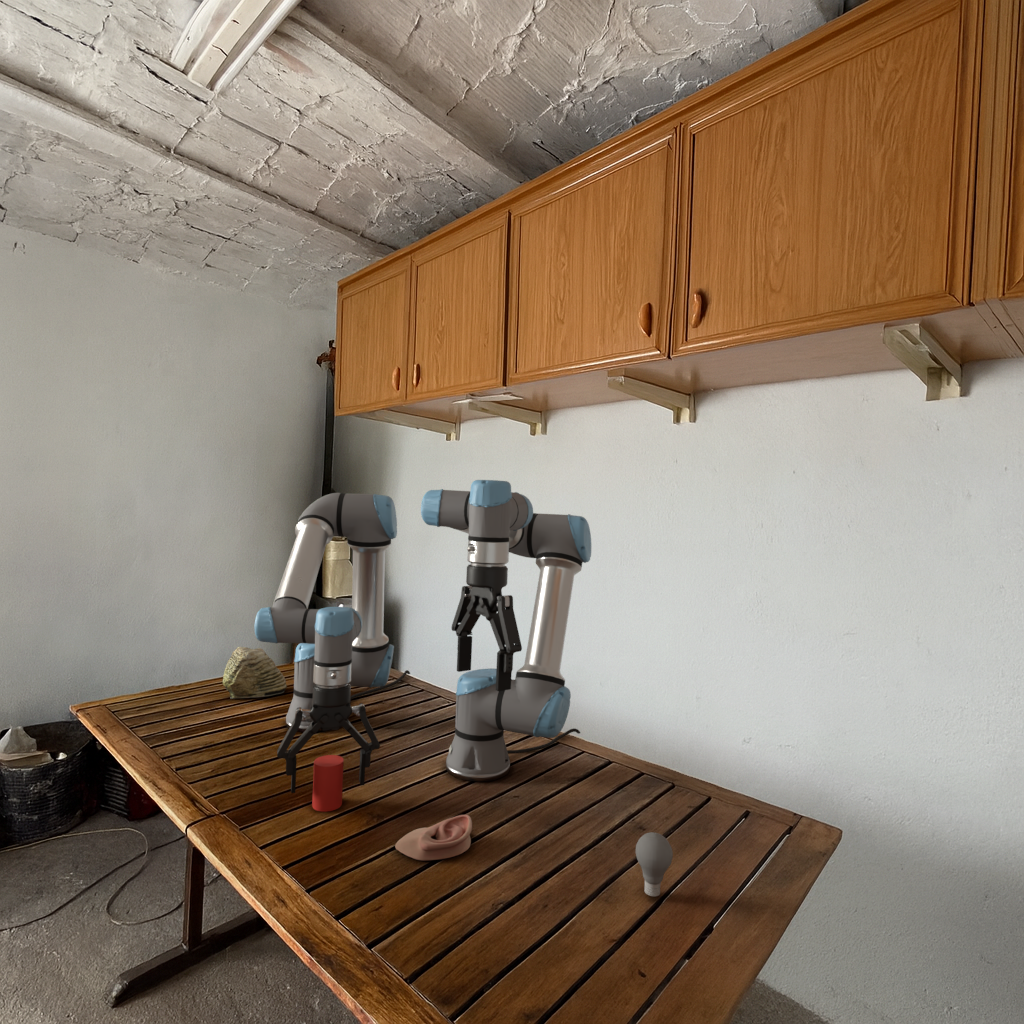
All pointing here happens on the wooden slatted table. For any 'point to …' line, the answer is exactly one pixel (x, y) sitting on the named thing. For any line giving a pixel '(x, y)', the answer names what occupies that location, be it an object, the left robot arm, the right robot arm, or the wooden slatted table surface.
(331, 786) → the canister
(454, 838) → the anatomical model
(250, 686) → the fossil
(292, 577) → the left robot arm
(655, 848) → the light bulb
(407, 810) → the wooden slatted table surface
